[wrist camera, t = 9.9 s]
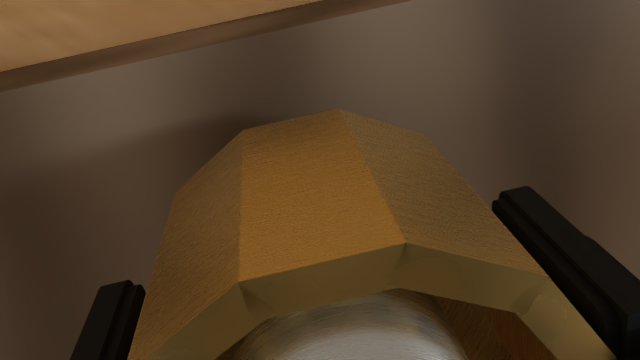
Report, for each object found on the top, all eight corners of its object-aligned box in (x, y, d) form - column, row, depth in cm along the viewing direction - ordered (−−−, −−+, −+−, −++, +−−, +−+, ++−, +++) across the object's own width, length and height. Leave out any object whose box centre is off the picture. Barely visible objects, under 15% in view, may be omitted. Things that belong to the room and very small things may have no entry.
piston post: (374, 137, 13) (500, 335, 6) (395, 267, 15) (509, 521, 8) (215, 174, 13) (185, 412, 6) (255, 301, 14) (263, 585, 8)
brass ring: (466, 78, 10) (631, 188, 6) (484, 344, 14) (600, 546, 9) (111, 159, 10) (4, 337, 6) (214, 409, 13) (196, 648, 9)
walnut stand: (615, -65, 14) (700, -64, 12) (593, 318, 21) (645, 376, 18) (-108, 96, 14) (-194, 135, 11) (94, 442, 20) (71, 521, 17)
